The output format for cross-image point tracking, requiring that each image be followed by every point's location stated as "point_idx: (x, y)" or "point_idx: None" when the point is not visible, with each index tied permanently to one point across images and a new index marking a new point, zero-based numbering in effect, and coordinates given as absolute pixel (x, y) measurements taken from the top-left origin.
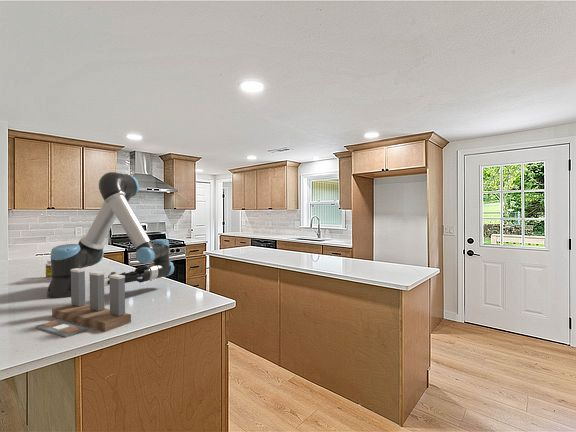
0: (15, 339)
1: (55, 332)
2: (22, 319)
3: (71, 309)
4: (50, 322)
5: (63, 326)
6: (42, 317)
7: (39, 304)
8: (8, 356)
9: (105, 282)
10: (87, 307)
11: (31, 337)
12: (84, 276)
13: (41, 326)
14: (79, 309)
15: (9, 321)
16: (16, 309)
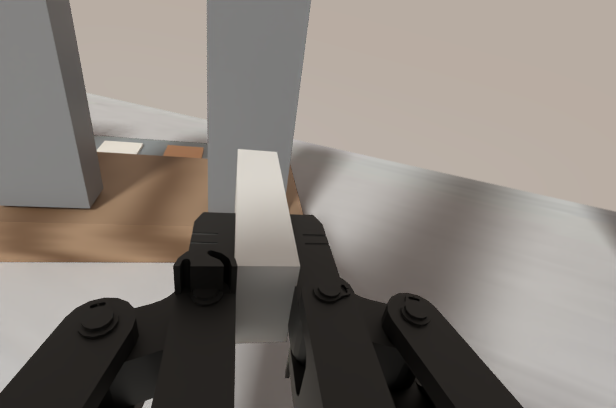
0: (176, 120)
1: (94, 135)
2: (337, 165)
3: (206, 175)
4: (197, 156)
5: (109, 150)
6: (308, 183)
7: (521, 236)
8: (91, 96)
9: (235, 209)
10: (155, 203)
11: (148, 127)
12: (208, 19)
13: (193, 145)
14: (167, 182)
15: (345, 155)
16: (480, 193)
